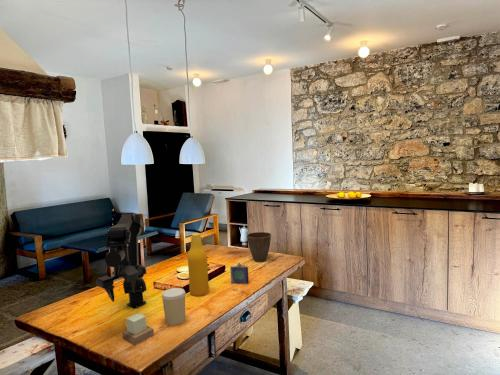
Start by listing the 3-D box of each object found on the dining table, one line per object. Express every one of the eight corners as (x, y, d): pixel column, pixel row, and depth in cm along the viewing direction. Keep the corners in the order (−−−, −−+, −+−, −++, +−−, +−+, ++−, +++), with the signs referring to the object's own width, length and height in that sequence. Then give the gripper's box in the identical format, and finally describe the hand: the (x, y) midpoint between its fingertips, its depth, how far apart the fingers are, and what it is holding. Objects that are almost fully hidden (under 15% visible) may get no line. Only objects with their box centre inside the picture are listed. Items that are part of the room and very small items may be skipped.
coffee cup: (177, 313, 147) (175, 285, 145) (191, 319, 141) (190, 290, 139) (158, 321, 139) (156, 293, 138) (173, 328, 134) (171, 299, 132)
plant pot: (242, 261, 211) (241, 236, 209) (257, 255, 223) (256, 231, 221) (262, 265, 202) (261, 239, 200) (276, 258, 214) (275, 233, 212)
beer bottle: (210, 294, 164) (207, 235, 161) (191, 297, 161) (187, 237, 158) (207, 287, 173) (203, 231, 170) (188, 290, 170) (184, 233, 167)
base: (122, 339, 128) (122, 331, 128) (141, 330, 134) (141, 322, 134) (135, 346, 123) (134, 338, 123) (154, 336, 129) (153, 328, 129)
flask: (230, 283, 177) (229, 263, 176) (231, 281, 180) (231, 261, 178) (248, 284, 175) (247, 263, 174) (249, 282, 178) (248, 262, 177)
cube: (127, 331, 128) (126, 318, 128) (138, 325, 132) (137, 312, 132) (135, 334, 125) (133, 321, 125) (146, 328, 129) (145, 316, 129)
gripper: (109, 269, 122) (113, 311, 124) (153, 255, 137) (156, 293, 138) (93, 264, 129) (97, 304, 131) (136, 251, 144) (139, 287, 145)
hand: (123, 297), depth 136 cm, fingers open, 9 cm apart
